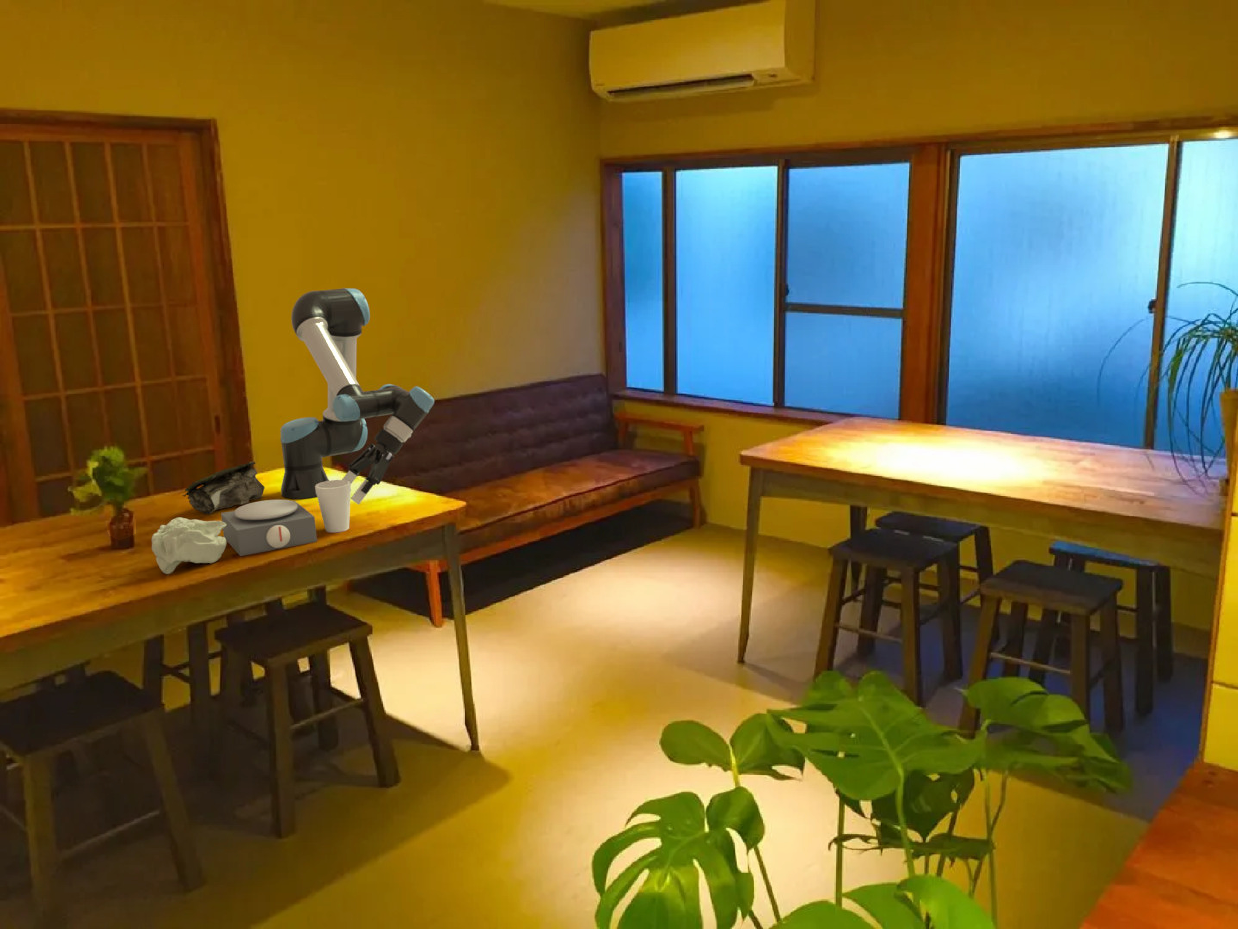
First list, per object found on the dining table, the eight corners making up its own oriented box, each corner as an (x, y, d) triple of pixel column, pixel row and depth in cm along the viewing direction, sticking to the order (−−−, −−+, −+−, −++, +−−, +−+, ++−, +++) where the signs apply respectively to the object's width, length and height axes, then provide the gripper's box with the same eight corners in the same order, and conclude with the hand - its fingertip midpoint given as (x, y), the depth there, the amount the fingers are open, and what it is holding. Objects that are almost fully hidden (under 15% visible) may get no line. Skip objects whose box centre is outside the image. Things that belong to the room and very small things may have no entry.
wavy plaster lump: (202, 582, 268) (210, 524, 272) (227, 579, 260) (235, 518, 264) (133, 573, 255) (142, 511, 259) (157, 569, 247) (167, 505, 251)
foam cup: (359, 524, 292) (355, 479, 289) (348, 534, 283) (343, 488, 280) (327, 524, 293) (322, 480, 290) (314, 534, 284) (309, 488, 281)
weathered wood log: (195, 534, 304) (215, 502, 296) (168, 503, 305) (187, 470, 298) (265, 506, 328) (285, 476, 321) (239, 477, 330) (259, 447, 322)
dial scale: (224, 537, 284) (220, 506, 281) (297, 524, 294) (293, 493, 292) (241, 557, 266) (236, 524, 264) (318, 542, 276) (314, 510, 274)
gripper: (419, 450, 282) (371, 513, 278) (387, 436, 303) (343, 495, 298) (399, 434, 278) (350, 498, 274) (368, 421, 299) (322, 480, 294)
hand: (346, 496), depth 286 cm, fingers open, 13 cm apart
